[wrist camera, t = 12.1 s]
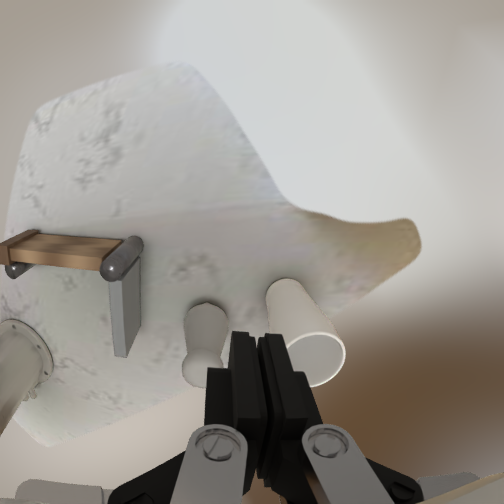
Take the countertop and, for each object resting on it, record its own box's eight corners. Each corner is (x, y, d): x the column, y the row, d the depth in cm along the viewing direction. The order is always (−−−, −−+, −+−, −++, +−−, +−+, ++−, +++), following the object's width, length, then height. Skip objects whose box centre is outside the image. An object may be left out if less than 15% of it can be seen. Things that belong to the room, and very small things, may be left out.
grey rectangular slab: (140, 325, 42) (126, 357, 34) (130, 323, 41) (114, 356, 34) (139, 257, 39) (121, 280, 31) (129, 256, 39) (108, 279, 31)
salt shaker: (203, 341, 43) (197, 404, 31) (177, 311, 41) (161, 371, 29) (237, 320, 42) (242, 381, 30) (211, 288, 41) (207, 344, 28)
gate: (121, 236, 37) (99, 255, 30) (122, 254, 38) (100, 276, 30) (28, 229, 35) (-4, 244, 28) (29, 246, 36) (-1, 264, 29)
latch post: (44, 262, 38) (19, 280, 31) (32, 260, 37) (6, 277, 31) (43, 245, 37) (17, 261, 30) (30, 244, 37) (3, 259, 30)
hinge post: (143, 254, 39) (121, 283, 30) (125, 253, 38) (99, 280, 29) (143, 236, 38) (121, 260, 29) (126, 234, 38) (99, 258, 29)
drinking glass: (249, 302, 42) (261, 373, 28) (279, 262, 40) (308, 318, 26) (289, 325, 43) (315, 397, 29) (319, 288, 42) (360, 349, 28)
